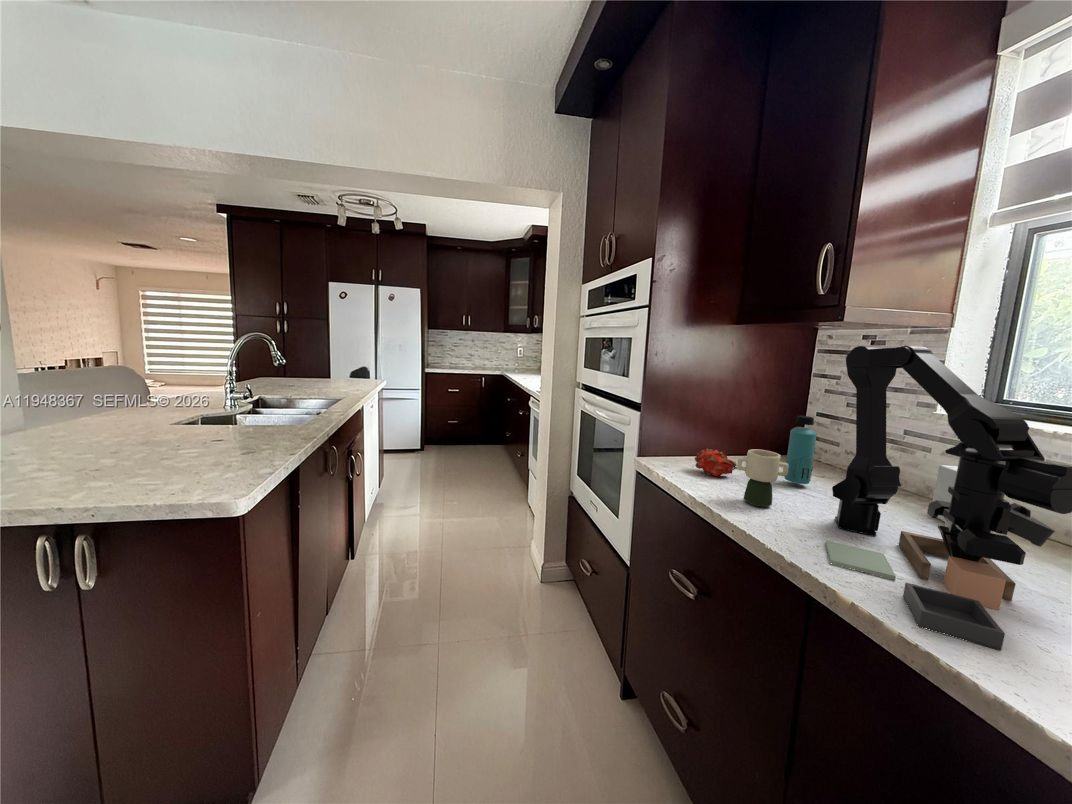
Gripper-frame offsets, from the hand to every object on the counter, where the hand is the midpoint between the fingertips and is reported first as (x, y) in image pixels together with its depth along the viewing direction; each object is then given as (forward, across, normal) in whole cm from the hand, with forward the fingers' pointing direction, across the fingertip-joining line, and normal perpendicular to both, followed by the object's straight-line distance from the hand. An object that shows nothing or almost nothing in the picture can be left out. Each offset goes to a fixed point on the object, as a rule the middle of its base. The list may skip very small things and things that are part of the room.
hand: (960, 575), depth 70 cm
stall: (+1, +4, 0) cm, 5 cm away
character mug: (+1, +19, +31) cm, 36 cm away
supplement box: (+1, +35, -10) cm, 37 cm away
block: (+1, -5, 0) cm, 5 cm away
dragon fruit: (+1, +37, +43) cm, 56 cm away
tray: (+1, -16, +6) cm, 17 cm away
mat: (+1, -2, +14) cm, 14 cm away
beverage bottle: (+1, +42, +22) cm, 47 cm away
